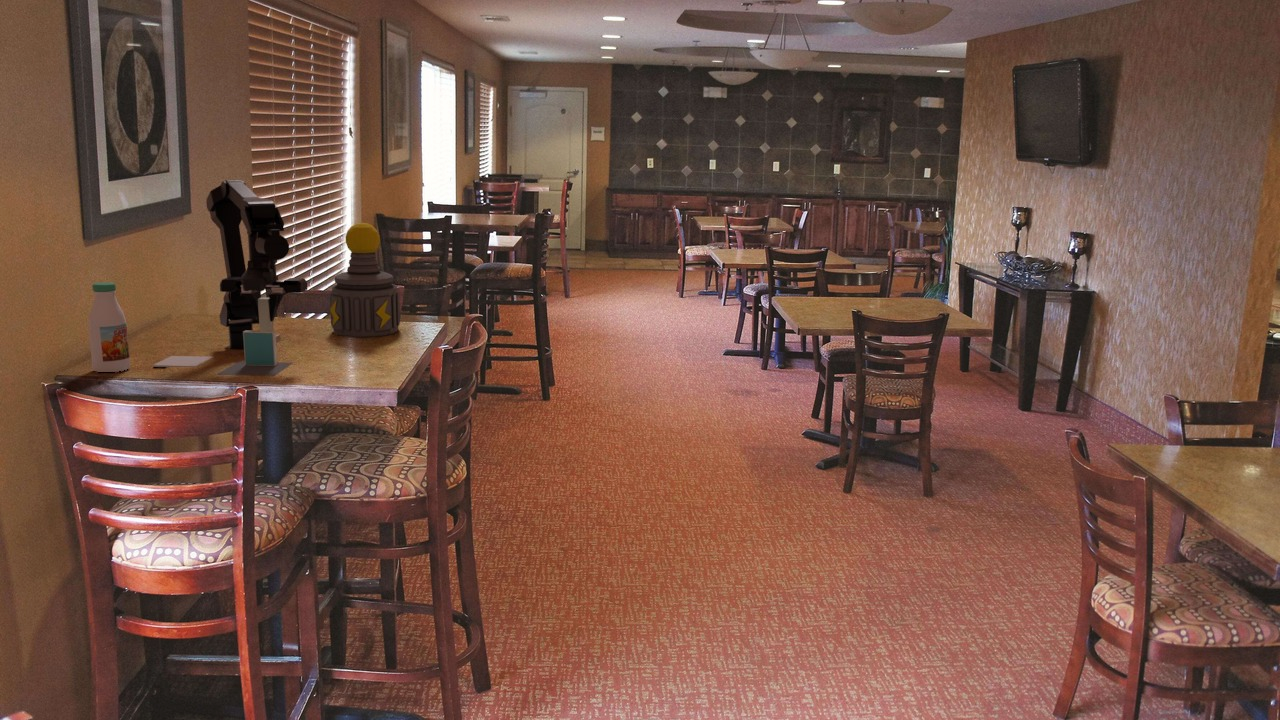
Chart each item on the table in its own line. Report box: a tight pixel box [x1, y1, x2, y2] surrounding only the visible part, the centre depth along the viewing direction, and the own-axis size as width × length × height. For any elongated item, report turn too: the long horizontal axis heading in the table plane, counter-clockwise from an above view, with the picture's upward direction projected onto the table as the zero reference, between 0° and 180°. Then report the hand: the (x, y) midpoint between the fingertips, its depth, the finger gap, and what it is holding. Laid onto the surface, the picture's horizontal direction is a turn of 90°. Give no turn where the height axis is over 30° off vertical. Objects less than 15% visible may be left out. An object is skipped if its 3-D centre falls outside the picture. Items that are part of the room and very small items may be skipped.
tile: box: [243, 330, 278, 366], centre depth 241 cm, size 2×7×8 cm, turn 90°
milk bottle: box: [88, 281, 131, 373], centre depth 234 cm, size 8×8×20 cm
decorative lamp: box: [329, 222, 401, 338], centre depth 283 cm, size 19×19×30 cm
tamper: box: [258, 296, 282, 344], centre depth 244 cm, size 4×5×10 cm
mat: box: [217, 361, 293, 377], centre depth 239 cm, size 13×13×1 cm
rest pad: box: [152, 355, 214, 368], centre depth 244 cm, size 10×10×1 cm
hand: (266, 321), depth 245 cm, fingers closed on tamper, 2 cm apart
